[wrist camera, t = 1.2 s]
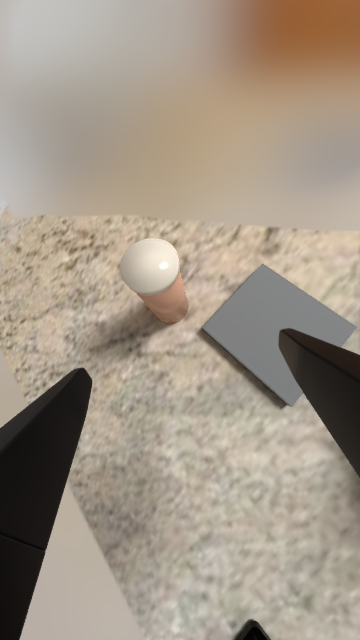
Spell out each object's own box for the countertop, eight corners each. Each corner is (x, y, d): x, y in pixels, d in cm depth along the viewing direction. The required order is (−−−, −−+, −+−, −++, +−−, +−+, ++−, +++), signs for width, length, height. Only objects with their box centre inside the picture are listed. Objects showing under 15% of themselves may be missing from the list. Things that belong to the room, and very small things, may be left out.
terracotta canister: (171, 332, 24) (147, 303, 14) (145, 308, 25) (108, 267, 15) (197, 305, 24) (191, 260, 15) (171, 282, 25) (149, 228, 16)
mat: (287, 405, 20) (291, 406, 19) (202, 329, 23) (202, 327, 22) (350, 329, 21) (357, 327, 20) (260, 267, 24) (262, 263, 23)
